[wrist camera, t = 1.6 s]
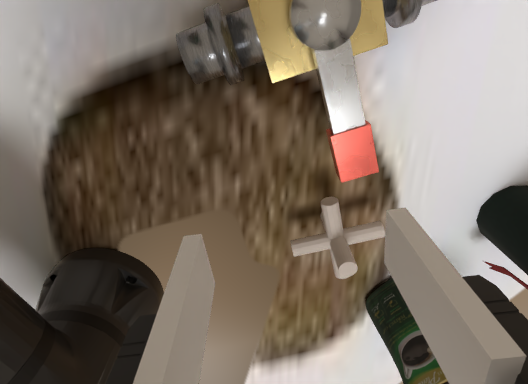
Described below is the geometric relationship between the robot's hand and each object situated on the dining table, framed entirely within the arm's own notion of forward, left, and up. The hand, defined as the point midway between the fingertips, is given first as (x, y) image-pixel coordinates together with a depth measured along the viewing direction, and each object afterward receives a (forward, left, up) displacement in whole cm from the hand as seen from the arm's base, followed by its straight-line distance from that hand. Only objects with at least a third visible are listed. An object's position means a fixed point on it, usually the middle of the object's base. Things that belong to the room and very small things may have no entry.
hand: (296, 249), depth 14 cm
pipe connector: (+7, -12, -23) cm, 27 cm away
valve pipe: (+2, +9, -23) cm, 25 cm away
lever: (+4, +5, -14) cm, 15 cm away
